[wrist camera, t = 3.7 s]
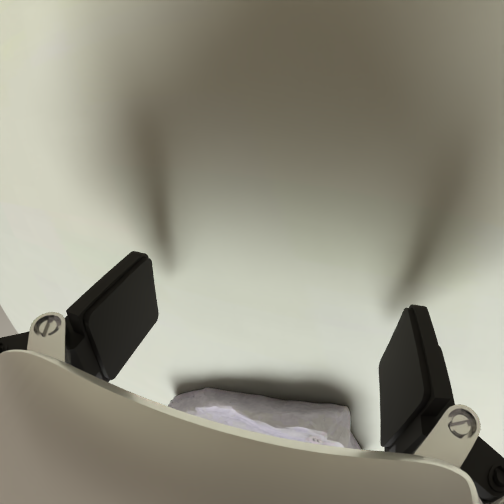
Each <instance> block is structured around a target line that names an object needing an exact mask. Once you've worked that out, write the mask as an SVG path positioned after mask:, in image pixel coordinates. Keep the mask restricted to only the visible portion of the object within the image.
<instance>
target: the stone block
mask: <svg viewBox="0 0 504 504" xmlns="http://www.w3.org/2000/svg"><path fill="white" fill-rule="evenodd" d="M168 407H171V408H173V409H176V410H179V411H182V412H185V413H188V414H191V415H194V416H197V417H201V418H204V419H207V420H211V421H214V422H217V423H221V424H225V425H228V426H232V427H236V428H240V429H244V430H248V431H252V432H256V433H261V434H265V435H270V436H274V437H279V438H284V439H289V440H295V441H301V442H307V443H313V444H320V445H327V446H334V447H342V448H351V449H360V450H361V448H360V446H359V444H358V443H357V440H356V439H355V438H354V436H353V434H352V433H351V432H350V427H351V417H350V411H349V409H348V407H346V406H341V405H336V404H331V403H327V404H325V403H321V404H319V403H309V402H305V401H294V400H290V401H286V400H281V399H275V398H269V397H266V396H263V395H252V394H245V393H240V392H232V391H224V390H219V389H215V388H208V387H206V388H204V389H200V390H195V391H190V392H186V393H182V394H180V395H177V396H175V398H174V399H173V400H171V402H170V404H169V405H168Z"/></svg>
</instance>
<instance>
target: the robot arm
mask: <svg viewBox="0 0 504 504" xmlns="http://www.w3.org/2000/svg"><path fill="white" fill-rule="evenodd" d="M66 312H67V315H68V316H67V317H65V318H64V317H63V315H61V314H59V313H56V312H48V313H45V314H42V315H40V316H39V317H37V318H36V319H35V320H34V321H33V323H32V324H31V327H30V332H25V333H21V334H16V335H12V336H7V337H2V338H0V504H504V458H503V457H502V456H501V455H500V454H498V453H497V452H496V451H495V450H494V449H493V448H492V447H490V446H489V445H488V444H487V443H486V442H485V441H484V440H482V439H481V438H480V437H479V436H478V435H479V433H480V421H479V418H478V416H477V414H476V413H475V412H474V411H473V410H472V409H471V408H469V407H467V406H465V405H461V404H459V405H455V403H454V398H453V394H452V389H451V385H450V381H449V376H448V372H447V368H446V364H445V361H444V357H443V353H442V350H441V348H440V346H439V345H438V342H437V338H436V335H435V331H434V328H433V325H432V322H431V319H430V315H429V312H428V309H427V307H424V306H418V305H410V307H409V308H405V309H404V311H403V313H402V315H401V318H400V320H399V322H398V324H397V327H396V329H395V331H394V333H393V335H392V338H391V340H390V342H389V344H388V346H387V348H386V350H385V352H384V354H383V356H382V358H381V361H380V364H379V383H380V415H381V446H382V447H385V452H384V451H371V450H360V449H351V448H342V447H334V446H327V445H320V444H313V443H307V442H301V441H295V440H289V439H284V438H279V437H274V436H270V435H265V434H261V433H256V432H252V431H248V430H244V429H240V428H236V427H232V426H228V425H225V424H221V423H217V422H214V421H211V420H207V419H204V418H201V417H197V416H194V415H191V414H188V413H185V412H182V411H179V410H176V409H173V408H171V407H168V406H165V405H162V404H159V403H157V402H154V401H151V400H149V399H146V398H144V397H141V396H139V395H136V394H134V393H131V392H129V391H126V390H124V389H122V388H119V387H117V386H115V385H113V384H110V383H108V382H109V381H110V380H113V379H114V378H115V377H116V376H117V374H118V373H119V372H120V370H121V369H122V368H123V366H124V365H125V363H126V362H127V361H128V359H129V358H130V357H131V355H132V354H133V352H134V351H135V350H136V348H137V347H138V346H139V344H140V343H141V342H142V340H143V339H144V338H145V336H146V335H147V334H148V332H149V331H150V329H151V328H152V327H153V325H154V324H155V323H156V321H157V319H158V307H157V300H156V292H155V285H154V277H153V269H152V261H151V259H150V258H148V255H147V254H145V253H140V252H135V251H132V252H131V253H129V254H128V255H127V256H126V257H125V258H124V259H122V260H121V261H120V262H119V263H118V264H117V265H116V266H114V267H113V268H112V269H111V270H110V271H109V272H108V273H106V274H105V275H104V276H103V277H102V278H101V279H100V280H99V281H98V282H96V283H95V284H94V285H93V286H92V287H91V288H90V289H89V290H88V291H87V292H85V293H84V294H83V295H82V296H81V297H80V298H79V299H78V300H77V301H76V302H75V303H74V304H73V305H72V306H71V307H69V308H68V309H67V310H66Z"/></svg>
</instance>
